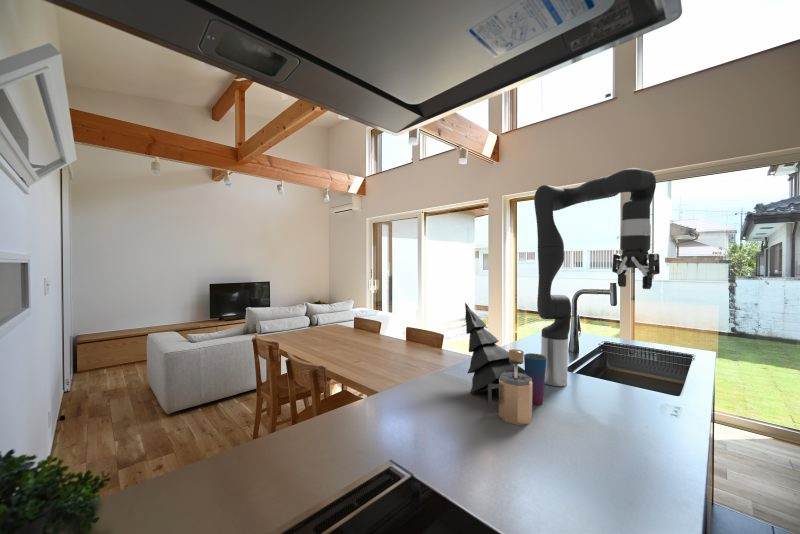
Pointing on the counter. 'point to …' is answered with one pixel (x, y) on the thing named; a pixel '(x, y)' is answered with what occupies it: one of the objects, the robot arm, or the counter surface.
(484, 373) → the decorative tree
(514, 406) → the press pot
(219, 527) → the counter surface
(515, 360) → the plunger
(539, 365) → the cup
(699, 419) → the counter surface
